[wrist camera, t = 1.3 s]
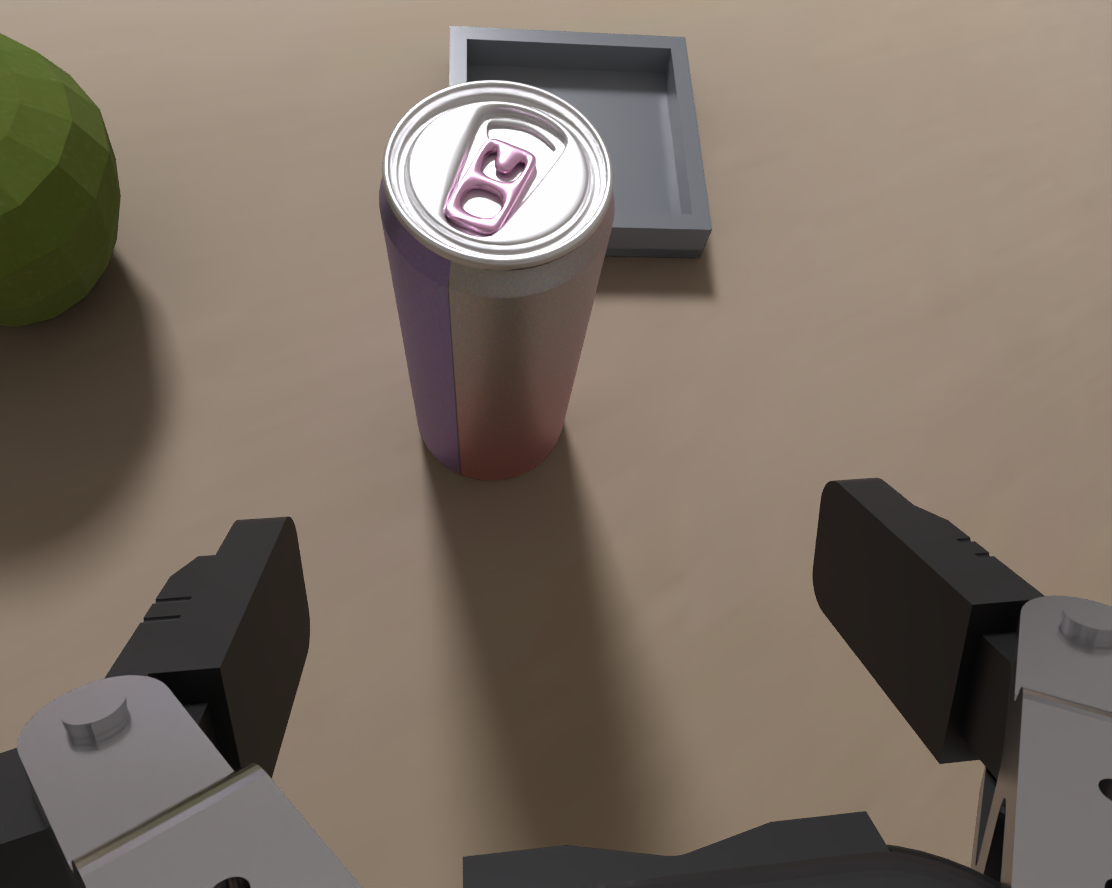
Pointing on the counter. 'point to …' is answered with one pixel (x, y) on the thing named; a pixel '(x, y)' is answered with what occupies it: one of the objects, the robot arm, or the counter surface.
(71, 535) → the counter surface
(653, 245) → the tray
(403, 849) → the counter surface
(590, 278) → the beverage can
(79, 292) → the apple
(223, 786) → the robot arm
